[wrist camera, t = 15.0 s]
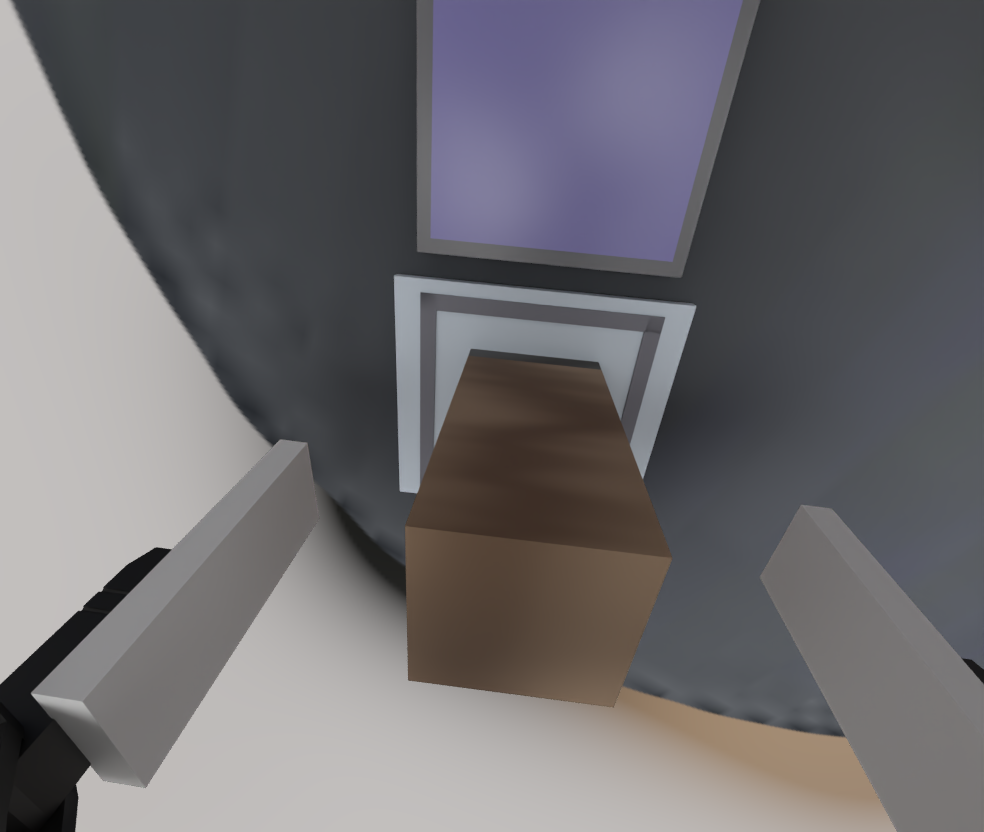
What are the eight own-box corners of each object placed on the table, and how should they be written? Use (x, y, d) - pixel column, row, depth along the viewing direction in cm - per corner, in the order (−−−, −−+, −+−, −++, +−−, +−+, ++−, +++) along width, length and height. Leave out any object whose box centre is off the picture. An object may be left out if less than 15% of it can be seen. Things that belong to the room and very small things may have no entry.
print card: (692, 303, 16) (697, 306, 15) (629, 512, 21) (631, 519, 20) (397, 273, 16) (393, 276, 16) (401, 486, 21) (399, 492, 20)
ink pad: (771, -90, 11) (797, -119, 10) (672, 272, 15) (683, 279, 14) (425, -115, 11) (414, -145, 10) (423, 248, 16) (415, 252, 15)
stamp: (598, 362, 17) (672, 558, 8) (576, 467, 19) (613, 707, 10) (470, 348, 17) (405, 526, 8) (464, 454, 19) (408, 680, 11)
